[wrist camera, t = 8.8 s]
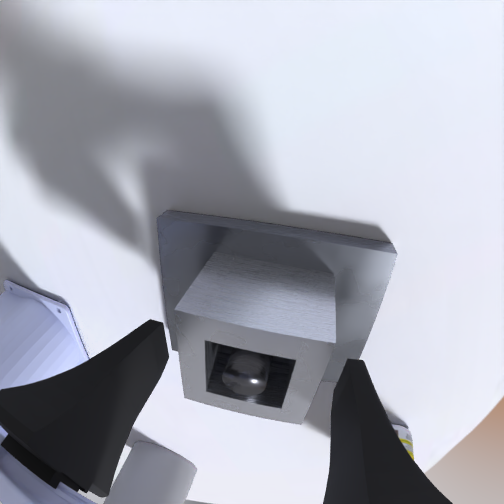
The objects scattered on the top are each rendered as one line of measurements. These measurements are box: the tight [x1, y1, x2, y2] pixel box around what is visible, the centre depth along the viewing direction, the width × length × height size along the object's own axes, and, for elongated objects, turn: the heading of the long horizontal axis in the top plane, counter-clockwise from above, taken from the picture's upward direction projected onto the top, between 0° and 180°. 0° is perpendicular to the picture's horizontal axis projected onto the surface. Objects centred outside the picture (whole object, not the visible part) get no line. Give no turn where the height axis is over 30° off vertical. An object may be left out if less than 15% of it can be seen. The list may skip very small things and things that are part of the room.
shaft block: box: [157, 210, 397, 395], centre depth 12 cm, size 10×8×5 cm
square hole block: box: [174, 252, 336, 425], centre depth 12 cm, size 5×5×4 cm
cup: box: [104, 441, 197, 504], centre depth 25 cm, size 8×8×10 cm
